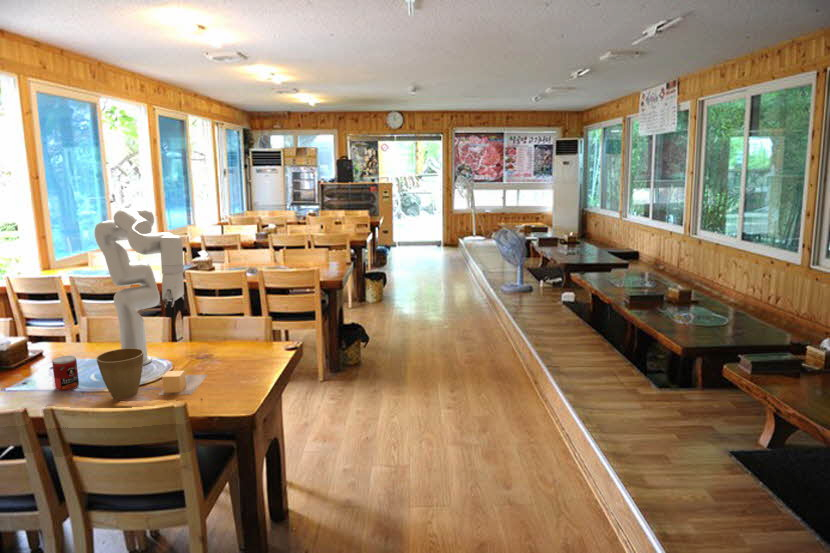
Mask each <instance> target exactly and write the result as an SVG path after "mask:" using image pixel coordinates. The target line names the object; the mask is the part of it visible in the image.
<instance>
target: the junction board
mask: <svg viewBox="0 0 830 553" xmlns="http://www.w3.org/2000/svg"><path fill="white" fill-rule="evenodd" d="M207 377H208V374H185V378H186V387H185V388H184V389H183V390H182V391H181V392H176V393H164V392H163V389H161V390H160V392H158V394H157V396H179V395H180V396H182V395H184V396H185V395H193V393H194V392H195V391H196V390H197V389H198V387H199V386H200V385H201V384H202V382H204V381H205V379H206V378H207Z"/></svg>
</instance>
